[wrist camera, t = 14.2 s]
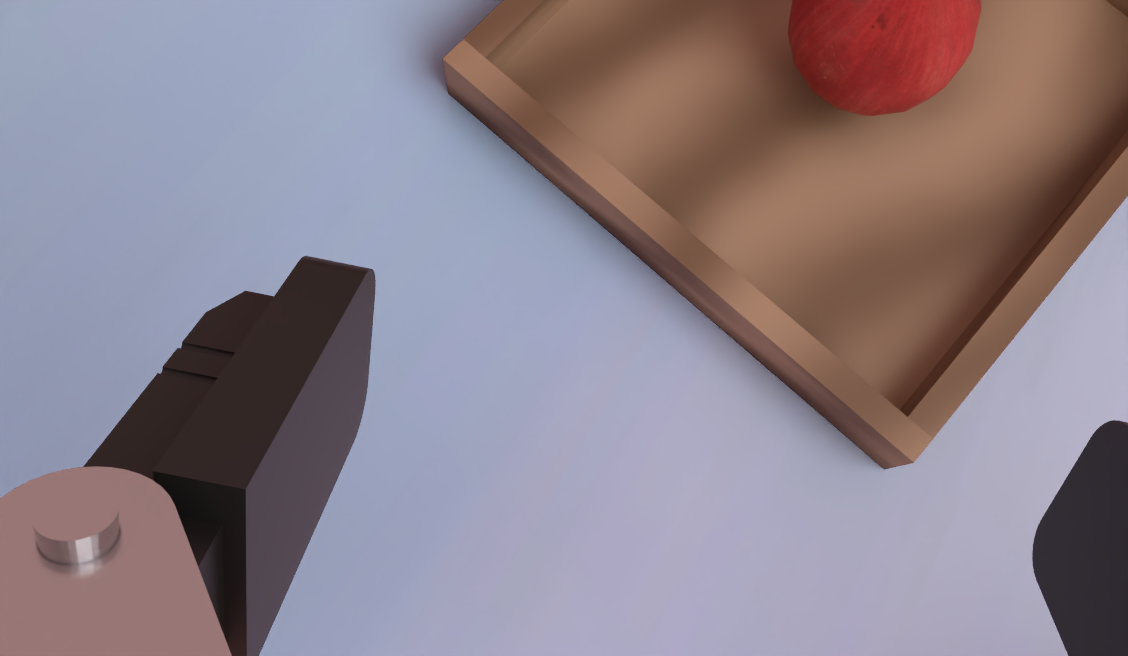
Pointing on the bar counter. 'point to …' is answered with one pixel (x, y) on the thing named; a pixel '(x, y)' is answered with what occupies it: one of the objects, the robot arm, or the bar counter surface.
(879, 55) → the onion
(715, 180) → the walnut tray
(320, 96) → the bar counter surface
